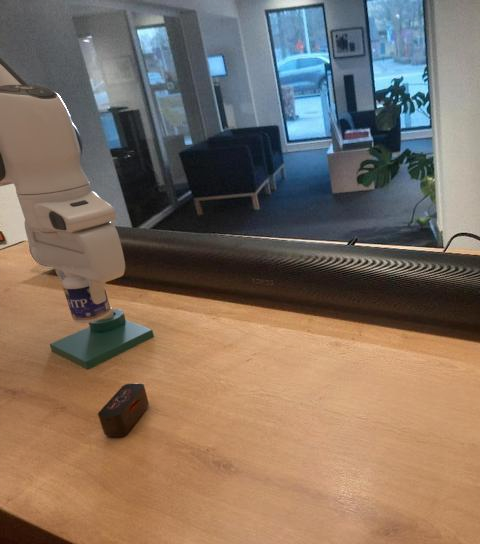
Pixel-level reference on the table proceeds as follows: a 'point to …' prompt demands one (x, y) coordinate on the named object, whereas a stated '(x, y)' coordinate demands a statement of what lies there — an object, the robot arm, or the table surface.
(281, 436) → the table surface
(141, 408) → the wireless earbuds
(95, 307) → the pill bottle
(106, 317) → the button
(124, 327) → the scale
